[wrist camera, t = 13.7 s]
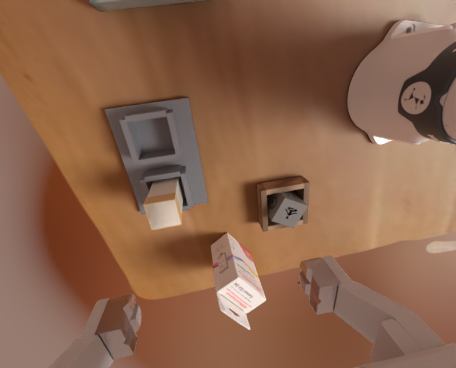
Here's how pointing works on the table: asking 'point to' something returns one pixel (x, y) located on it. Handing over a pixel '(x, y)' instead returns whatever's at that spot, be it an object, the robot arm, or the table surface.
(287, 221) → the dice cube
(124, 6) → the tray
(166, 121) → the block
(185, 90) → the table surface
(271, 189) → the dice corral
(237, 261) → the ink cartridge box
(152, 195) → the block
